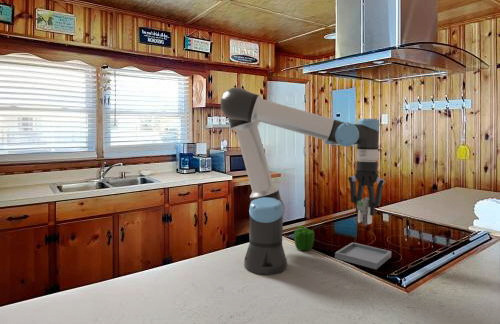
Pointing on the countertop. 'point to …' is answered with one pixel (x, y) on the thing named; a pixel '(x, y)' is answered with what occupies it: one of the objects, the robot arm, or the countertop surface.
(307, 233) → the bell pepper
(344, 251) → the tray
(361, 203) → the mechanical component
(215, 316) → the countertop surface
